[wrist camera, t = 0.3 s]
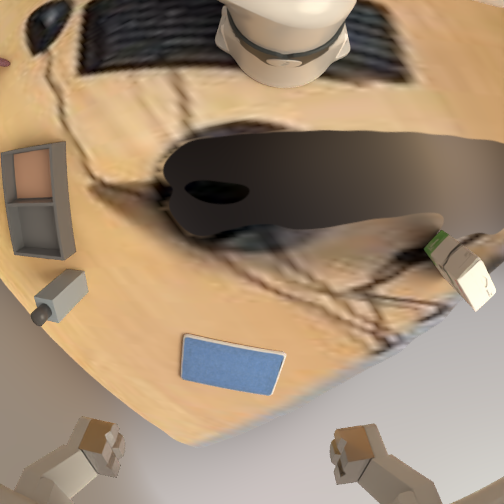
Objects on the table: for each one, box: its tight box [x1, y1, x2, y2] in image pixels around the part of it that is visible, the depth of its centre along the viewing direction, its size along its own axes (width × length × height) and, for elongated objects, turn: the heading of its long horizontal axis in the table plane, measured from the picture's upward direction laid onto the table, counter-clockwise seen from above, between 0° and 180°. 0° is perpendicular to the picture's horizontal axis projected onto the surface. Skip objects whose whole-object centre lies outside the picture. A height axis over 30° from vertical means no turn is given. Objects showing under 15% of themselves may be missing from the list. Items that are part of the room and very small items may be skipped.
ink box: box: [424, 230, 496, 311], centre depth 41 cm, size 9×5×12 cm, turn 47°
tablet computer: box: [181, 334, 286, 396], centre depth 57 cm, size 19×13×1 cm, turn 79°
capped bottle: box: [31, 269, 88, 326], centre depth 46 cm, size 4×4×14 cm
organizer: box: [1, 141, 76, 260], centre depth 45 cm, size 20×14×4 cm
